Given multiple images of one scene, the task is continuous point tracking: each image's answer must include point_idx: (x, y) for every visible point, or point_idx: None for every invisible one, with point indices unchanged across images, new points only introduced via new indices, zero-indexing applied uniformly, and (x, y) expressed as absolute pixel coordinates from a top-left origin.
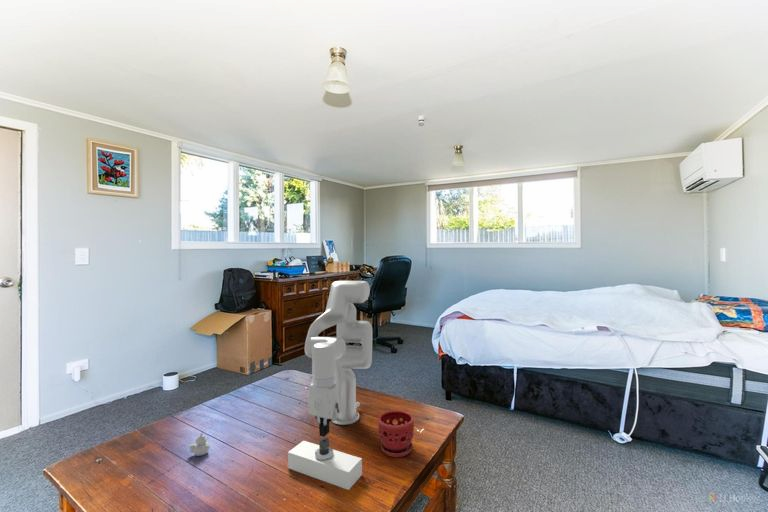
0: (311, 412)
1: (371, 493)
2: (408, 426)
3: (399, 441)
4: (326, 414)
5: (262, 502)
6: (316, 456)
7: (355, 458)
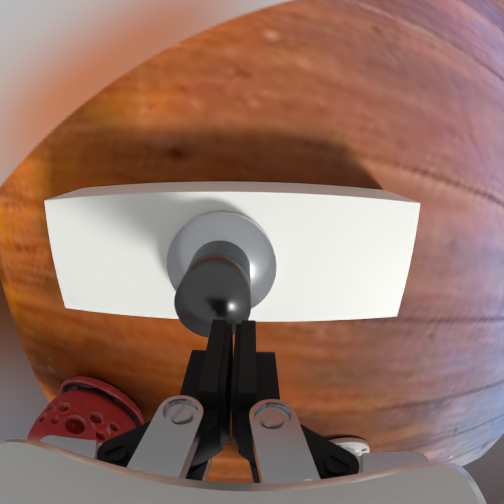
0: (406, 498)
1: (31, 213)
2: None
3: (47, 406)
4: (32, 500)
5: (331, 3)
6: (240, 217)
7: (80, 298)
